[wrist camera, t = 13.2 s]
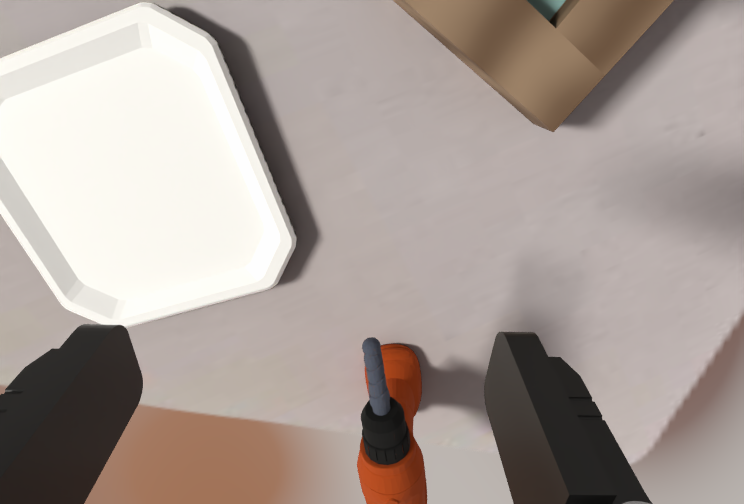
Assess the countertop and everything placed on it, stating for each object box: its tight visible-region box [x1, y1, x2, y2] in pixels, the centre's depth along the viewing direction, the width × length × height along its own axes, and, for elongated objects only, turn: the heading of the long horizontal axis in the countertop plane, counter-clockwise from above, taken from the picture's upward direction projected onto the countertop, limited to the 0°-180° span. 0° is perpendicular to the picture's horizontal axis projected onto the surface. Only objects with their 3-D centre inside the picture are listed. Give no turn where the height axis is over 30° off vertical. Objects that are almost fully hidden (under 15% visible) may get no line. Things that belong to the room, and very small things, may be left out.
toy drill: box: [357, 338, 427, 504], centre depth 30 cm, size 5×19×15 cm, turn 7°
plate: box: [0, 2, 297, 328], centre depth 32 cm, size 21×21×2 cm
